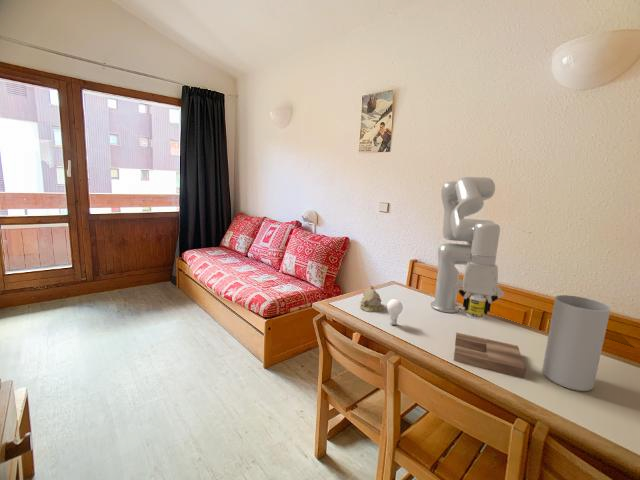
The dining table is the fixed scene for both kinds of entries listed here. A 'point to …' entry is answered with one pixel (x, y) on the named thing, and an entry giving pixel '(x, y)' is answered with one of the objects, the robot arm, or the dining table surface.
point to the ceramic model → (371, 300)
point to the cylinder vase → (575, 341)
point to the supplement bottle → (476, 306)
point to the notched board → (489, 354)
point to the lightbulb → (394, 310)
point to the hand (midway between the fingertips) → (475, 310)
